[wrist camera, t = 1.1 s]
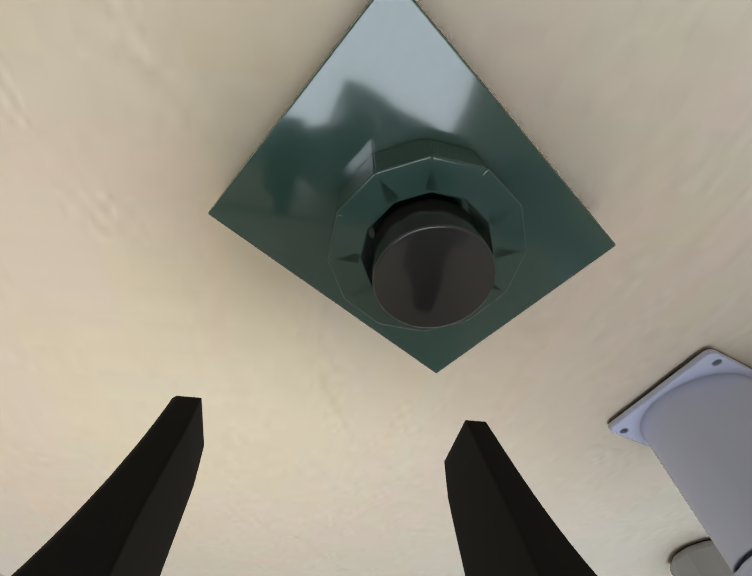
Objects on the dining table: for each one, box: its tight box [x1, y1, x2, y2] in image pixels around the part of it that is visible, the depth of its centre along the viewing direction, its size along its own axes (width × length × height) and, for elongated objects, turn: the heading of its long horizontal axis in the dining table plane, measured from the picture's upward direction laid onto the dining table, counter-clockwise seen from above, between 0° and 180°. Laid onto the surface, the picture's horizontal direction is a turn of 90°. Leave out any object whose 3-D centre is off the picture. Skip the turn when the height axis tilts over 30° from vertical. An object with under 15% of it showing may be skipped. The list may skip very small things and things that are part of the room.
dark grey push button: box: [371, 199, 496, 328], centre depth 14 cm, size 4×4×2 cm
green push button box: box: [209, 0, 615, 373], centre depth 17 cm, size 13×10×4 cm
